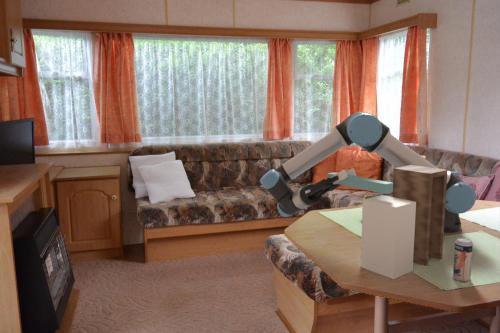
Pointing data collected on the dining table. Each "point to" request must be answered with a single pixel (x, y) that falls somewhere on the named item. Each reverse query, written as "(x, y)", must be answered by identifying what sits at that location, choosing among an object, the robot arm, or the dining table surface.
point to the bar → (366, 183)
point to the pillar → (388, 235)
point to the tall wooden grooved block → (424, 207)
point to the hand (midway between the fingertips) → (350, 172)
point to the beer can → (462, 259)
